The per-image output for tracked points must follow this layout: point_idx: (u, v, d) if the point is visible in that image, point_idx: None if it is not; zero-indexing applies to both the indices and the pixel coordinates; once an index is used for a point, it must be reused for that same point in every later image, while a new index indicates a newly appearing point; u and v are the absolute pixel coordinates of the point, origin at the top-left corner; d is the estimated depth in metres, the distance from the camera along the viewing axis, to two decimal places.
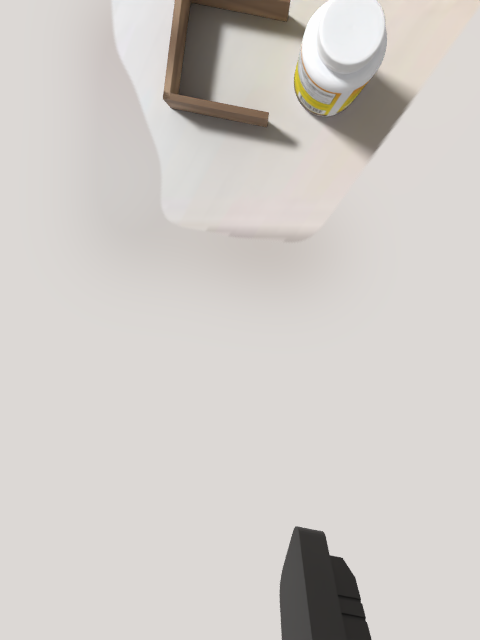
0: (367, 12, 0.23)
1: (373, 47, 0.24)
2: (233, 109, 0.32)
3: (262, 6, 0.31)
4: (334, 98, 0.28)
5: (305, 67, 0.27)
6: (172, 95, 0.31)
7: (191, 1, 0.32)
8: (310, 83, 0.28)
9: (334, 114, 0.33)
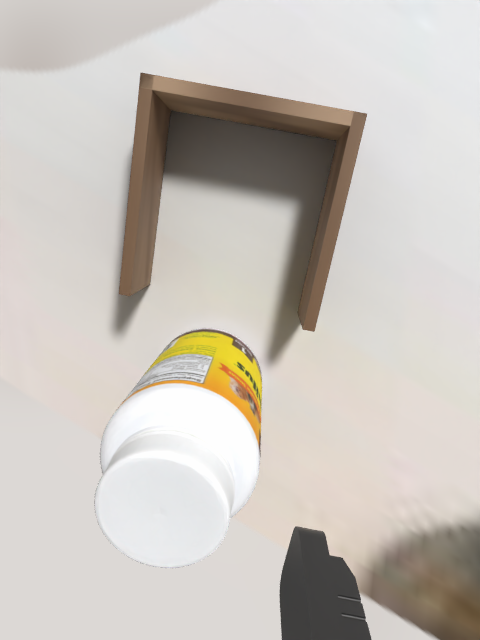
0: (188, 539, 0.11)
1: (127, 550, 0.11)
2: (130, 228, 0.16)
3: (310, 278, 0.18)
4: None
5: (140, 392, 0.13)
6: (147, 95, 0.15)
7: (336, 142, 0.17)
8: (130, 392, 0.14)
9: None
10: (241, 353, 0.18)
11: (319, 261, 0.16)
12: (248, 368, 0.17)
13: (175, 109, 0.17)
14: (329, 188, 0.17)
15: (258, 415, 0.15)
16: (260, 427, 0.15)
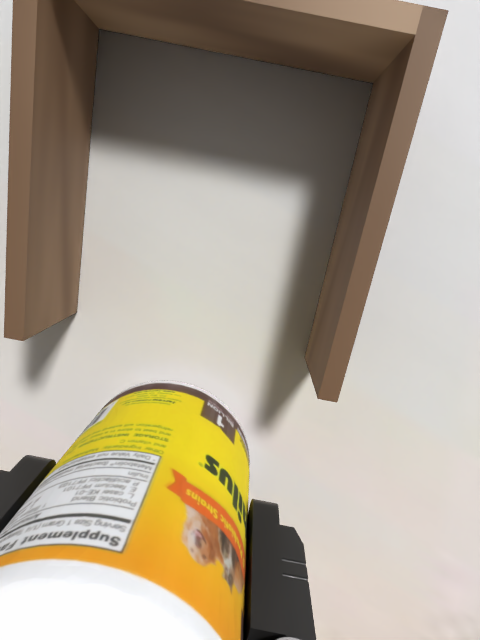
0: None
1: None
2: (16, 225, 0.09)
3: (328, 309, 0.11)
4: None
5: None
6: None
7: (373, 85, 0.10)
8: None
9: None
10: (216, 430, 0.11)
11: (349, 285, 0.09)
12: (225, 461, 0.10)
13: (104, 24, 0.10)
14: (363, 160, 0.10)
15: (240, 572, 0.08)
16: (244, 592, 0.08)
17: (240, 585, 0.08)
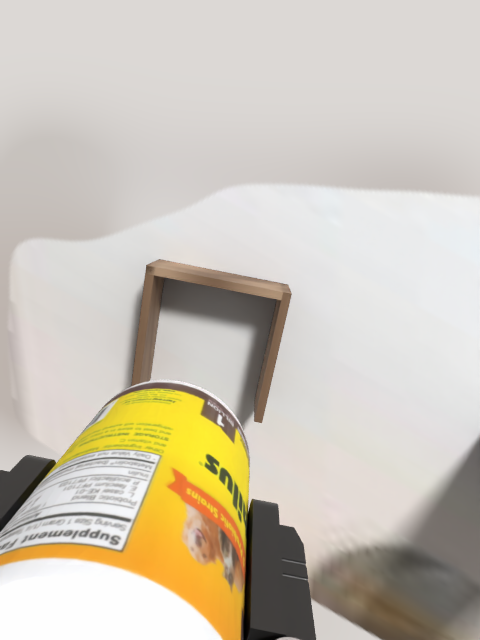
0: None
1: None
2: (138, 357, 0.24)
3: (260, 383, 0.26)
4: None
5: None
6: (150, 278, 0.23)
7: None
8: None
9: None
10: (216, 429, 0.11)
11: (264, 379, 0.24)
12: (225, 460, 0.10)
13: None
14: (272, 326, 0.25)
15: (240, 571, 0.08)
16: (244, 591, 0.08)
17: (240, 584, 0.08)
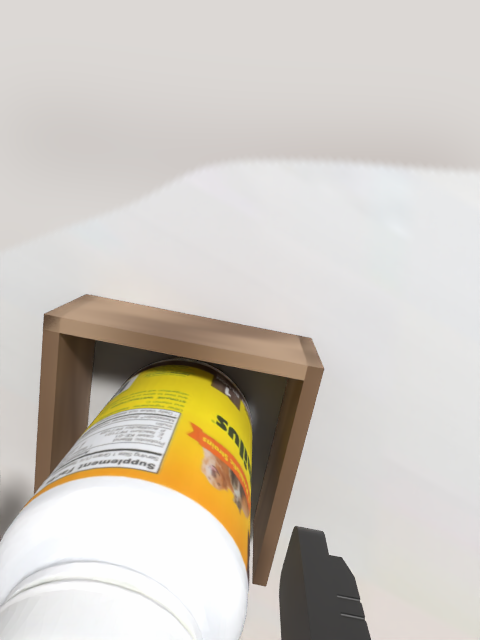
0: None
1: None
2: (41, 475, 0.13)
3: (263, 510, 0.15)
4: None
5: (52, 491, 0.08)
6: (53, 339, 0.12)
7: None
8: (47, 479, 0.09)
9: None
10: (224, 398, 0.13)
11: (270, 517, 0.13)
12: (233, 421, 0.12)
13: None
14: (284, 414, 0.14)
15: (246, 504, 0.10)
16: (249, 520, 0.10)
17: (246, 513, 0.10)
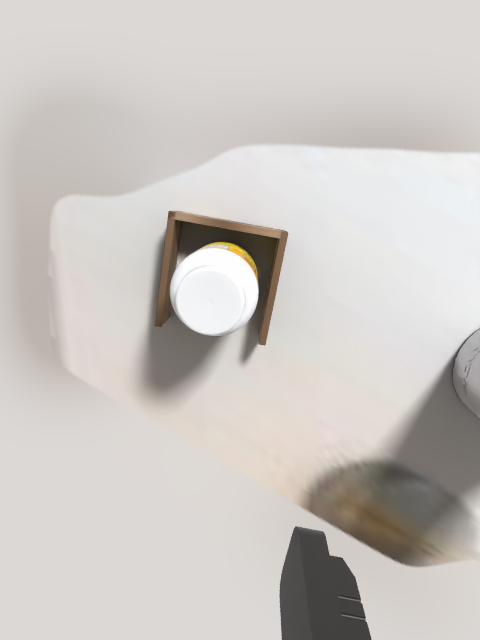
0: (223, 316, 0.22)
1: (192, 325, 0.22)
2: (162, 290, 0.29)
3: (263, 314, 0.31)
4: None
5: (192, 253, 0.24)
6: (172, 222, 0.28)
7: None
8: None
9: None
10: (245, 251, 0.29)
11: (266, 307, 0.29)
12: (249, 258, 0.28)
13: None
14: (272, 265, 0.30)
15: (256, 276, 0.26)
16: None
17: (257, 278, 0.26)
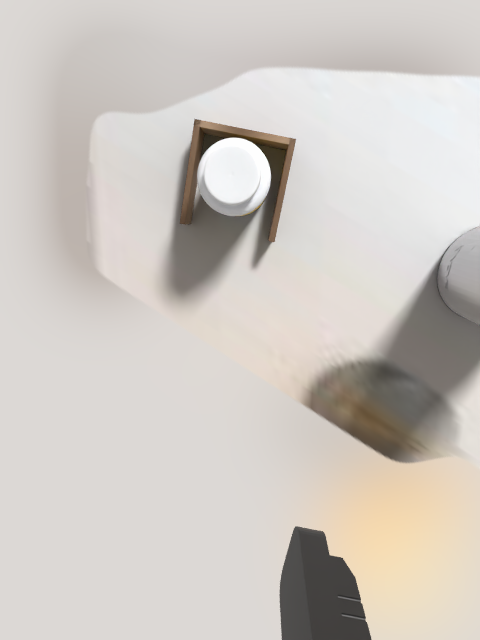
0: (242, 187, 0.27)
1: (216, 194, 0.27)
2: (186, 191, 0.34)
3: (273, 217, 0.36)
4: None
5: (217, 142, 0.29)
6: (197, 129, 0.33)
7: (286, 150, 0.35)
8: None
9: None
10: None
11: (276, 207, 0.34)
12: None
13: (207, 133, 0.35)
14: None
15: None
16: None
17: None
